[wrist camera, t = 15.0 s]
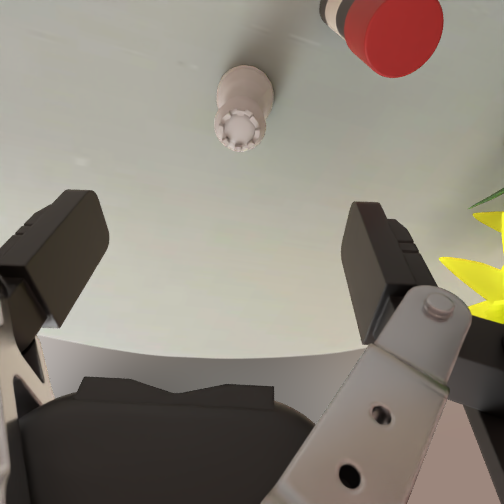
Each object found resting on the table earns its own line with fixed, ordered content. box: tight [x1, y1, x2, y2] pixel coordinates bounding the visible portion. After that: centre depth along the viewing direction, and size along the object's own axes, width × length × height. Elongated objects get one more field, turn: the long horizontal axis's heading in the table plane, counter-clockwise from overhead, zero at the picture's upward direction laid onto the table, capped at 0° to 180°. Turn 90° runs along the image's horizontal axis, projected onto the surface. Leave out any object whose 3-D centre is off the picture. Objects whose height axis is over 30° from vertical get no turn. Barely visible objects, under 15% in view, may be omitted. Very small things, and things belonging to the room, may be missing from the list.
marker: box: [320, 0, 444, 78], centre depth 17 cm, size 3×3×14 cm
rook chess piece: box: [214, 65, 274, 152], centre depth 23 cm, size 4×4×8 cm
